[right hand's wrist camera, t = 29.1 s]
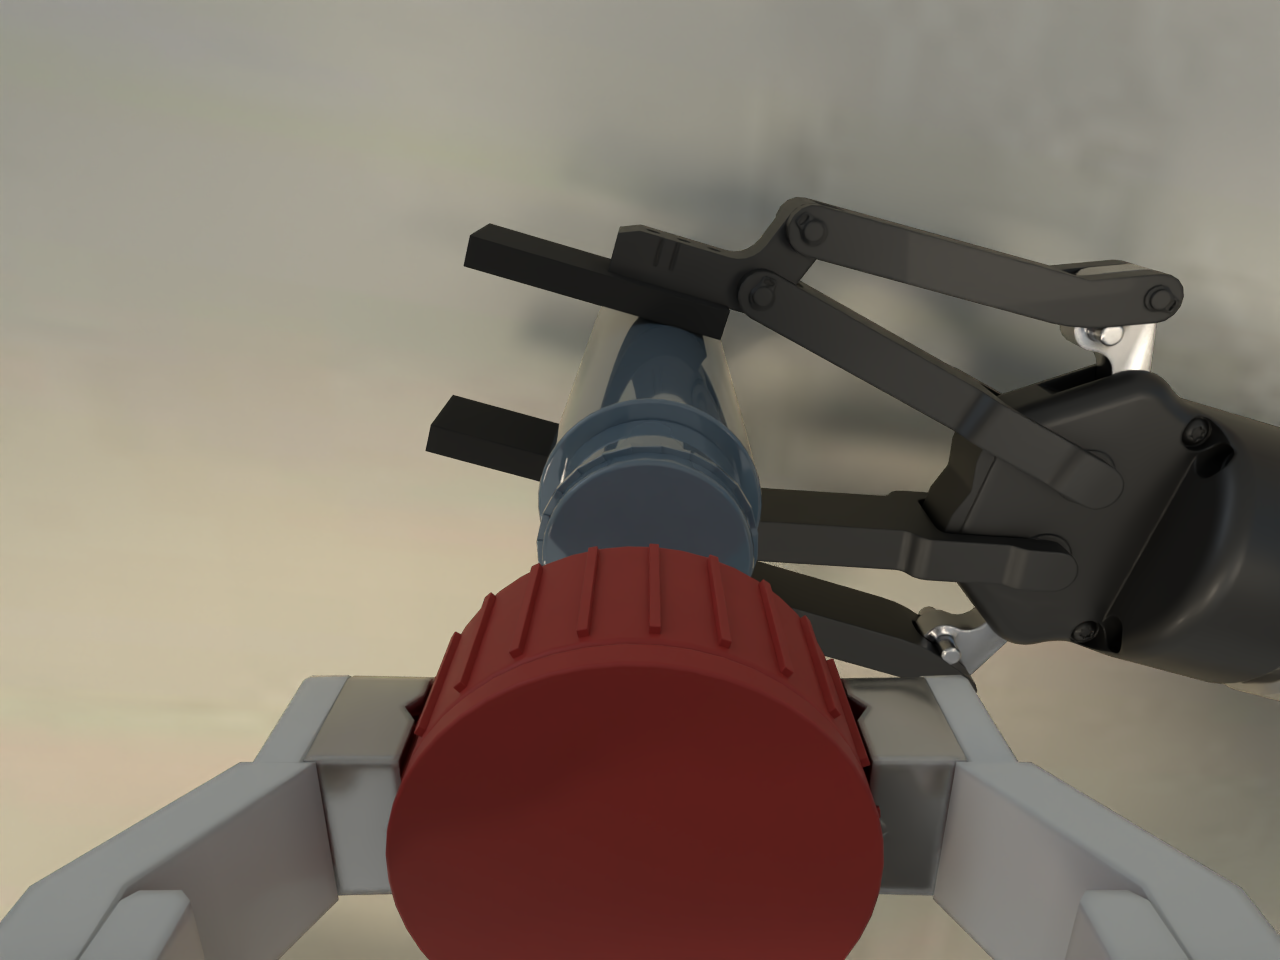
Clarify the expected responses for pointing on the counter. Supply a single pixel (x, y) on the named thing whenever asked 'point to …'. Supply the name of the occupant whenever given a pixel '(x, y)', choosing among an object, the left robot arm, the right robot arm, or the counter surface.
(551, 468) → the bottle
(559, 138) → the counter surface
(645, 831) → the lid
